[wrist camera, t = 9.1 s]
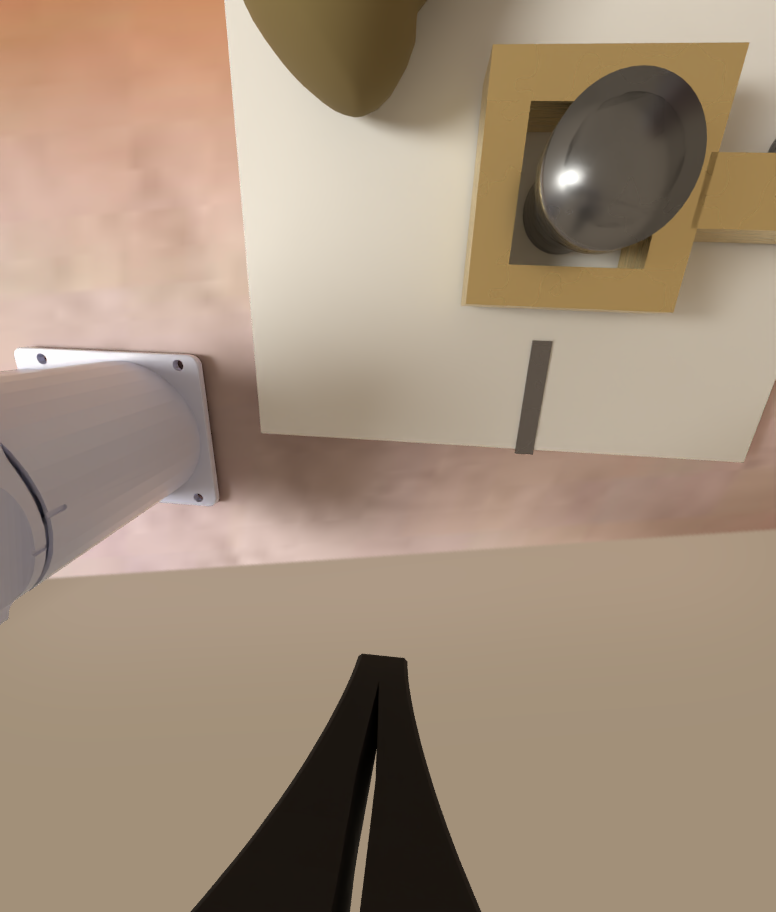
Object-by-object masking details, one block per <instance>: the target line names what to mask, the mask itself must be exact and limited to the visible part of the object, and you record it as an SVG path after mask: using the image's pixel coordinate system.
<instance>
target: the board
mask: <svg viewBox="0 0 776 912" xmlns="http://www.w3.org/2000/svg"><path fill="white" fill-rule="evenodd" d="M224 1H225V13H226V25H227V36H228V48H229V60H230V72H231V84H232V96H233V107H234V119H235V131H236V143H237V155H238V167H239V178H240V190H241V202H242V214H243V226H244V238H245V249H246V261H247V273H248V285H249V297H250V309H251V320H252V332H253V344H254V356H255V368H256V380H257V391H258V403H259V415H260V427H261V433H266V434H282V435H298V436H315V437H331V438H347V439H364V440H380V441H397V442H413V443H429V444H446V445H462V446H478V447H495V448H511V449H515V447H516V440H517V434H518V428H519V422H520V415H521V409H522V403H523V396H524V390H525V384H526V377H527V371H528V365H529V359H530V352H531V346H532V340H538V341H553V342H552V348H551V353H550V359H549V365H548V370H547V376H546V382H545V387H544V393H543V399H542V404H541V410H540V416H539V421H538V427H537V433H536V438H535V444H534V450H544V451H560V452H576V453H593V454H609V455H625V456H642V457H658V458H674V459H691V460H707V461H723V462H740V463H744V460H745V458H746V455H747V452H748V450H749V447H750V445H751V442H752V439H753V437H754V434H755V432H756V429H757V426H758V424H759V421H760V419H761V416H762V413H763V411H764V408H765V406H766V403H767V400H768V398H769V395H770V393H771V390H772V387H773V385H774V382H775V380H776V244H756V243H721V242H693V245H692V248H691V252H690V255H689V259H688V263H687V266H686V270H685V273H684V277H683V280H682V284H681V287H680V291H679V294H678V298H677V301H676V305H675V309H674V312H673V313H618V312H595V311H571V310H547V309H523V308H499V307H475V306H461V298H462V288H463V278H464V268H465V258H466V248H467V239H468V229H469V219H470V209H471V199H472V189H473V179H474V169H475V159H476V149H477V139H478V129H479V119H480V109H481V99H482V89H483V82H484V78H485V74H486V70H487V66H488V62H489V58H490V54H491V50H492V46H493V44H589V43H722V42H750V43H749V47H748V50H747V54H746V57H745V61H744V64H743V68H742V71H741V75H740V78H739V82H738V86H737V89H736V93H735V96H734V100H733V103H732V107H731V110H730V114H729V117H728V121H727V124H726V128H725V132H724V135H723V139H722V142H721V146H720V149H719V152H754V153H768V150H769V148H770V146H771V145H772V143H773V142H774V140H775V139H776V0H427V1H426V3H425V4H424V5H423V7H422V8H421V9H420V11H419V12H418V13H417V24H416V40H415V45H414V48H413V51H412V54H411V57H410V60H409V63H408V66H407V68H406V70H405V72H404V74H403V75H402V77H401V79H400V81H399V83H398V84H397V86H396V88H395V89H394V91H393V93H392V95H391V96H390V98H389V99H388V100H387V101H386V102H385V103H384V104H383V105H382V106H381V107H380V108H379V109H378V110H376V111H374V112H371V113H369V114H367V115H365V116H362V117H351V116H346V115H343V114H341V113H338V112H336V111H334V110H333V109H331V108H330V107H328V106H327V105H325V104H324V103H323V102H321V101H320V100H319V99H318V98H317V97H316V96H314V95H313V94H312V93H311V92H310V91H309V90H307V89H306V88H305V87H304V86H303V85H302V84H301V83H300V82H299V81H298V80H297V79H296V78H295V77H294V76H293V75H292V74H291V72H290V71H289V70H288V69H287V68H286V67H285V65H284V64H283V63H282V62H281V60H280V59H279V58H278V56H277V55H276V54H275V52H274V51H273V50H272V48H271V47H270V46H269V44H268V43H267V42H266V40H265V39H264V37H263V36H262V34H261V32H260V31H259V29H258V28H257V26H256V25H255V23H254V22H253V20H252V18H251V16H250V14H249V12H248V10H247V8H246V6H245V3H244V1H243V0H224ZM551 133H552V132H527V134H526V141H525V149H524V156H523V163H522V171H521V178H520V185H519V193H518V200H517V207H516V215H515V222H514V229H513V237H512V244H511V251H510V258H509V264H511V265H540V266H570V267H600V268H617V267H618V262H619V258H620V253H621V249H619V250H616V251H612V252H608V253H603V254H584V253H580V252H576V251H573V252H570V253H567V254H561V255H555V254H549V253H545V252H543V251H541V250H539V249H538V248H537V247H535V246H534V245H533V244H532V242H531V241H530V240H529V238H528V236H527V234H526V232H525V229H524V224H523V208H524V203H525V200H526V197H527V194H528V192H529V190H530V188H531V186H532V185H533V184H534V182H535V178H536V171H537V166H538V162H539V159H540V156H541V153H542V151H543V148H544V146H545V144H546V142H547V140H548V138H549V136H550V134H551Z"/></svg>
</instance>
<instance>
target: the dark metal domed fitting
mask: <svg viewBox="0 0 776 912" xmlns="http://www.w3.org/2000/svg"><path fill="white" fill-rule="evenodd" d="M706 146H707V126H706V120H705V115H704V111H703V108H702V105H701V103H700V101H699V99H698V97H697V95H696V93H695V92H694V91H693V89H692V88H691V86H690V85H689V84H688V83H687V82H686V81H685V80H684V79H683V78H681V77H680V76H678V75H677V74H675V73H674V72H671V71H669V70H667V69H665V68H661V67H657V66H648V65H640V66H631V67H627V68H623V69H619V70H617V71H614V72H612V73H609V74H608V75H606V76H604V77H602V78H600V79H599V80H597V81H596V82H595V83H593V84H592V85H590V86H589V87H588V88H587V89H586V90H584V91H583V92H582V93H581V94H580V95H579V96H578V97H577V98H576V99H575V101H574V102H573V103H572V104H571V105H570V106H569V108H568V109H567V111H566V112H565V114H564V115H563V116H562V118H561V119H560V121H559V122H558V124H557V125H556V127H555V128H554V130H553V131H552V133H551V134H550V136H549V138H548V140H547V142H546V144H545V146H544V148H543V151H542V153H541V156H540V159H539V162H538V166H537V171H536V178H535V182H534V184H533V185H532V186H531V188H530V190H529V192H528V194H527V197H526V200H525V203H524V208H523V224H524V229H525V232H526V234H527V236H528V238H529V240H530V241H531V242H532V244H533V245H534V246H535V247H537V248H538V249H539V250H541V251H543V252H545V253H549V254H555V255H561V254H567V253H570V252H573V251H576V252H580V253H584V254H603V253H608V252H612V251H616V250H619V249H622V248H624V247H627V246H630V245H633V244H635V243H638V242H640V241H642V240H644V239H646V238H648V237H649V236H651V235H653V234H654V233H656V232H657V231H658V230H660V229H661V228H662V227H664V226H665V225H666V224H667V223H668V222H669V221H670V220H671V219H672V218H673V217H674V216H675V215H676V214H677V213H678V211H679V210H680V209H681V208H682V206H683V205H684V204H685V202H686V201H687V199H688V198H689V196H690V194H691V193H692V191H693V189H694V187H695V185H696V183H697V180H698V178H699V176H700V173H701V170H702V167H703V163H704V159H705V154H706ZM768 153H776V139H775V140H774V142H773V143H772V145H771V146H770V148H769V150H768ZM552 342H553V341H538V340H532V346H531V352H530V359H529V365H528V371H527V377H526V384H525V390H524V396H523V403H522V409H521V415H520V422H519V428H518V434H517V440H516V447H515V453H516V454H532V455H533V450H534V444H535V438H536V433H537V427H538V421H539V416H540V410H541V404H542V399H543V393H544V387H545V382H546V376H547V370H548V365H549V359H550V353H551V348H552Z"/></svg>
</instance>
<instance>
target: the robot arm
mask: <svg viewBox="0 0 776 912" xmlns="http://www.w3.org/2000/svg"><path fill="white" fill-rule="evenodd" d="M44 356H45V357H46V359H47V361H46V360H45V358H44ZM14 358H15V361H16V365H17V368H18V369H16V370H8V371H0V624H2V623H3V622H4V621H6V620H7V619H8V614H9V608H10V606H11V605H12V603H13V602H14V601H15V600H16V599H18V598H19V597H21V596H22V595H23V594H25V593H26V592H28V591H29V590H31V589H33V588H34V587H35V586H37V585H38V584H40V583H41V582H43V581H44V580H46V579H47V578H49V577H50V576H52V575H53V574H54V573H56V572H57V571H59V570H60V569H62V568H63V567H65V566H66V565H68V564H69V563H71V562H72V561H73V560H75V559H76V558H78V557H79V556H81V555H82V554H84V553H85V552H87V551H88V550H89V549H91V548H92V547H94V546H95V545H97V544H98V543H100V542H101V541H103V540H104V539H105V538H107V537H108V536H110V535H111V534H113V533H114V532H116V531H117V530H119V529H120V528H121V527H123V526H124V525H126V524H127V523H129V522H130V521H132V520H133V519H135V518H136V517H138V516H139V515H140V514H142V513H143V512H145V511H146V510H148V509H149V508H151V507H152V506H154V505H155V504H156V503H158V502H159V503H172V504H185V505H198V506H213V505H214V504H216V503H217V502H218V500H219V490H218V483H217V475H216V467H215V460H214V452H213V445H212V437H211V430H210V422H209V414H208V407H207V399H206V392H205V384H204V377H203V369H202V364H201V361H200V360H199V358H198V357H196V356H195V355H191V354H170V353H148V352H127V351H105V350H83V349H61V348H39V347H20V348H17V349H16V350H15V352H14ZM179 360H180V361H181V362H182V364H183V369H180V368H179V366H178V361H179ZM198 494H201V495H202V497H203V499H201V498H200V497H199V496H198ZM376 749H377V757H376V781H375V790H374V799H373V808H372V816H371V825H370V833H369V842H368V850H367V858H366V867H365V874H364V883H363V890H362V898H361V907H360V912H481V910H480V908H479V906H478V903H477V901H476V898H475V896H474V894H473V891H472V889H471V887H470V884H469V881H468V879H467V877H466V874H465V872H464V869H463V867H462V865H461V862H460V860H459V857H458V854H457V852H456V849H455V846H454V844H453V842H452V838H451V836H450V833H449V831H448V828H447V825H446V822H445V819H444V816H443V814H442V811H441V808H440V805H439V802H438V799H437V796H436V793H435V790H434V787H433V783H432V780H431V777H430V774H429V771H428V767H427V764H426V760H425V757H424V753H423V750H422V746H421V742H420V738H419V733H418V729H417V725H416V721H415V716H414V712H413V707H412V701H411V695H410V689H409V682H408V670H407V661H406V660H405V659H404V658H398V657H389V656H379V655H370V654H361V655H360V656H359V657H358V659H357V662H356V665H355V668H354V670H353V673H352V675H351V677H350V680H349V682H348V684H347V687H346V688H345V691H344V693H343V695H342V697H341V699H340V701H339V703H338V705H337V707H336V708H335V710H334V712H333V714H332V716H331V718H330V720H329V722H328V724H327V725H326V727H325V729H324V731H323V732H322V734H321V736H320V737H319V739H318V741H317V742H316V744H315V746H314V747H313V749H312V751H311V752H310V754H309V756H308V758H307V759H306V761H305V762H304V764H303V766H302V767H301V769H300V770H299V772H298V773H297V775H296V776H295V778H294V779H293V781H292V782H291V784H290V785H289V787H288V788H287V790H286V791H285V793H284V794H283V795H282V797H281V798H280V800H279V801H278V803H277V804H276V805H275V807H274V808H273V809H272V811H271V812H270V814H269V815H268V816H267V818H266V819H265V820H264V822H263V823H262V824H261V826H260V827H259V829H258V830H257V831H256V833H255V834H254V835H253V836H252V838H251V839H250V840H249V842H248V843H247V844H246V846H245V847H244V848H243V849H242V851H241V852H240V853H239V854H238V856H237V857H236V858H235V859H234V861H233V862H232V863H231V864H230V865H229V867H228V868H227V869H226V870H225V871H224V873H223V874H222V875H221V876H220V877H219V879H218V880H217V881H216V882H215V884H214V885H213V886H212V887H211V889H210V890H209V891H208V892H207V893H206V894H205V896H204V897H203V898H202V899H201V900H200V901H199V903H198V904H197V905H196V906H195V907H194V908H193V910H192V911H191V912H350V906H351V898H352V889H353V880H354V872H355V866H356V860H357V853H358V847H359V841H360V836H361V830H362V825H363V820H364V814H365V809H366V804H367V798H368V793H369V787H370V782H371V776H372V771H373V765H374V760H375V754H376Z"/></svg>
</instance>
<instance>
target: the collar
mask: <svg viewBox="0 0 776 912" xmlns="http://www.w3.org/2000/svg"><path fill="white" fill-rule="evenodd" d="M749 43H750V42H722V43H589V44H493V46H492V50H491V54H490V58H489V62H488V66H487V70H486V74H485V78H484V82H483V89H482V99H481V109H480V119H479V129H478V139H477V149H476V159H475V169H474V179H473V189H472V199H471V209H470V219H469V229H468V239H467V248H466V258H465V268H464V278H463V288H462V298H461V306H475V307H499V308H523V309H547V310H571V311H595V312H618V313H673V312H674V309H675V305H676V301H677V298H678V294H679V291H680V287H681V284H682V280H683V277H684V273H685V270H686V266H687V263H688V259H689V255H690V252H691V248H692V245H693V242H721V243H756V244H776V153H754V152H719V149H720V146H721V142H722V139H723V135H724V132H725V128H726V124H727V121H728V117H729V114H730V110H731V107H732V103H733V100H734V96H735V93H736V89H737V86H738V82H739V78H740V75H741V71H742V68H743V64H744V61H745V57H746V54H747V50H748V47H749ZM640 65H648V66H657V67H661V68H665V69H667V70H669V71H671V72H674V73H675V74H677V75H678V76H680V77H681V78H683V79H684V80H685V81H686V82H687V83H688V84H689V85H690V86H691V88H692V89H693V91H694V92H695V93H696V95H697V97H698V99H699V101H700V103H701V105H702V108H703V111H704V115H705V120H706V126H707V146H706V154H705V159H704V163H703V167H702V170H701V173H700V176H699V178H698V180H697V183H696V185H695V187H694V189H693V191H692V193H691V194H690V196H689V198H688V199H687V201H686V202H685V204H684V205H683V206H682V208H681V209H680V210H679V211H678V213H677V214H676V215H675V216H674V217H673V218H672V219H671V220H670V221H669V222H668V223H667V224H666V225H665V226H664V227H662V228H661V229H660V230H658V231H657V232H656V233H654V234H653V235H651V236H649V237H648V238H646V239H644V240H642V241H640V242H638V243H635V244H633V245H630V246H627V247H624V248H622V249H621V253H620V258H619V262H618V267H617V268H600V267H570V266H540V265H511V264H509V258H510V251H511V244H512V237H513V229H514V222H515V215H516V207H517V200H518V193H519V185H520V178H521V171H522V163H523V156H524V149H525V141H526V134H527V132H552V131H553V130H554V128H555V127H556V125H557V124H558V122H559V121H560V119H561V118H562V116H563V115H564V114H565V112H566V111H567V109H568V108H569V106H570V105H571V104H572V103H573V102H574V101H575V99H576V98H577V97H578V96H579V95H580V94H581V93H582V92H583V91H584V90H586V89H587V88H588V87H589V86H590V85H592V84H593V83H595V82H596V81H597V80H599V79H600V78H602V77H604V76H606V75H608V74H609V73H612V72H614V71H617V70H619V69H623V68H627V67H631V66H640Z"/></svg>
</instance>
